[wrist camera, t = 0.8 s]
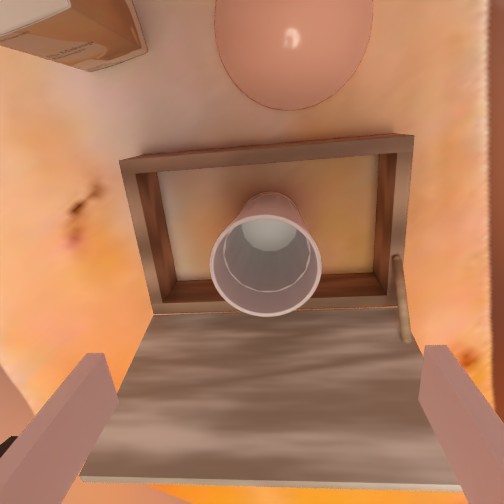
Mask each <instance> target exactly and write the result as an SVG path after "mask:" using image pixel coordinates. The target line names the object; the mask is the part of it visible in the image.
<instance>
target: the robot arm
mask: <svg viewBox="0 0 504 504" xmlns="http://www.w3.org/2000/svg"><path fill="white" fill-rule="evenodd" d="M418 400H419V402H420V404H421V406H422V408H423V410H424V413H425V415H426V417H427V419H428V421H429V423H430V425H431V427H432V429H433V431H434V433H435V435H436V437H437V439H438V441H439V443H440V445H441V447H442V449H443V451H444V453H445V455H446V457H447V459H448V461H449V463H450V465H451V467H452V470H453V472H454V474H455V476H456V478H457V480H458V482H459V484H460V486H461V488H462V490H463V492H464V494H465V496H466V498H467V500H468V502H469V504H504V423H503V422H502V421H501V419H500V418H499V416H498V415H497V414H496V412H495V411H494V410H493V408H492V407H491V406H490V404H489V403H488V401H487V400H486V399H485V397H484V396H483V395H482V393H481V392H480V391H479V389H478V388H477V387H476V385H475V384H474V382H473V381H472V380H471V378H470V377H469V376H468V374H467V373H466V372H465V370H464V369H463V367H462V366H461V365H460V363H459V362H458V361H457V359H456V358H455V357H454V355H453V354H452V352H451V351H450V350H449V348H448V347H447V346H446V345H426V346H425V350H424V358H423V366H422V374H421V382H420V390H419V398H418ZM118 403H119V399H118V396H117V393H116V390H115V387H114V384H113V381H112V377H111V374H110V371H109V368H108V365H107V362H106V359H105V355H104V353H87V354H86V355H85V357H84V358H83V359H82V360H81V361H80V363H79V364H78V365H77V366H76V367H75V369H74V370H73V371H72V372H71V373H70V375H69V376H68V377H67V378H66V379H65V381H64V382H63V383H62V384H61V385H60V387H59V388H58V389H57V390H56V392H55V393H54V394H53V395H52V396H51V398H50V399H49V400H48V401H47V402H46V404H45V405H44V406H43V407H42V408H41V410H40V411H39V412H38V413H37V414H36V416H35V417H34V418H33V419H32V421H31V422H30V423H29V424H28V426H27V427H26V428H25V429H24V430H23V431H22V433H21V434H20V435H19V436H11V437H10V438H9V439H7V440H6V441H5V442H4V443H2V444H1V445H0V504H61V503H62V501H63V499H64V498H65V496H66V494H67V492H68V490H69V489H70V487H71V485H72V483H73V482H74V480H75V478H76V477H77V475H78V473H79V471H80V470H81V468H82V466H83V464H84V463H85V461H86V459H87V457H88V456H89V454H90V452H91V450H92V449H93V447H94V445H95V443H96V442H97V440H98V438H99V436H100V435H101V433H102V431H103V429H104V428H105V426H106V424H107V422H108V421H109V419H110V417H111V415H112V414H113V412H114V410H115V408H116V407H117V405H118Z"/></svg>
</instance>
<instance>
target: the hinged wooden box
mask: <svg viewBox="0 0 504 504" xmlns="http://www.w3.org/2000/svg"><path fill="white" fill-rule="evenodd" d="M413 145H414V135H405V134H395V133H393V134H381V135H370V136H358V137H347V138H335V139H324V140H312V141H300V142H289V143H277V144H266V145H254V146H243V147H231V148H220V149H208V150H196V151H185V152H173V153H162V154H150V155H140V156H136V157H132V158H128V159H124V160H120V161H119V164H120V168H121V173H122V177H123V182H124V186H125V190H126V195H127V199H128V203H129V208H130V212H131V217H132V221H133V225H134V230H135V234H136V239H137V243H138V247H139V252H140V256H141V261H142V265H143V269H144V274H145V278H146V283H147V287H148V291H149V296H150V300H151V305H152V309H153V313H154V314H169V313H201V312H232V311H240V310H238V309H236V308H234V307H233V306H232V305H230V304H229V303H228V302H227V301H226V300H224V298H223V297H222V296H221V295H220V294H219V292H218V291H217V289H216V287H215V286H214V283H213V281H212V280H196V281H177V278H176V273H175V268H174V262H173V257H172V252H171V246H170V241H169V236H168V231H167V225H166V220H165V215H164V210H163V204H162V199H161V194H160V188H159V183H158V178H157V173H156V172H163V171H175V170H188V169H200V168H213V167H225V166H237V165H250V164H262V163H275V162H287V161H300V160H312V159H324V158H337V157H349V156H362V155H374V154H379V171H378V191H377V210H376V229H375V248H374V267H373V273H359V274H335V275H321V277H320V281H319V284H318V286H317V288H316V290H315V292H314V293H313V295H312V296H311V297H310V298H309V299H308V300H307V301H306V302H305V303H304V304H303V305H302V306H300V307H299V308H297V309H325V308H356V307H387V306H398V308H368V309H337V310H305V311H291V312H289V313H287V314H283V315H279V316H272V317H261V316H254V315H250V314H247V313H244V312H242V313H211V314H179V315H153V318H152V320H151V322H150V324H149V326H148V328H147V330H146V333H145V335H144V337H143V339H142V341H141V343H140V346H139V348H138V350H137V352H136V354H135V356H134V358H133V361H132V363H131V365H130V367H129V369H128V371H127V373H126V376H125V378H124V380H123V382H122V384H121V386H120V389H119V391H118V393H117V396H118V399H119V403H118V405H117V407H116V408H115V410H114V412H113V414H112V415H111V417H110V419H109V421H108V422H107V424H106V426H105V428H104V429H103V431H102V433H101V435H100V436H99V438H98V440H97V442H96V443H95V445H94V447H93V449H92V450H91V452H90V454H89V456H88V457H87V459H86V462H85V464H84V466H83V468H82V470H81V472H80V475H79V477H80V478H81V480H82V481H83V482H101V483H139V484H178V485H217V486H256V487H295V488H334V489H373V490H412V491H451V492H463V490H462V488H461V486H460V484H459V482H458V480H457V478H456V476H455V474H454V472H453V470H452V467H451V465H450V463H449V461H448V459H447V457H446V455H445V453H444V451H443V449H442V447H441V445H440V443H439V441H438V439H437V437H436V435H435V433H434V431H433V429H432V427H431V425H430V423H429V421H428V419H427V417H426V415H425V413H424V410H423V408H422V406H421V404H420V402H419V400H418V398H419V390H420V382H421V374H422V366H423V356H422V353H421V351H420V349H419V347H418V345H417V343H416V341H415V339H414V337H413V335H412V332H411V328H410V320H409V312H408V304H407V296H406V288H405V279H404V271H403V259H404V248H405V236H406V225H407V214H408V202H409V191H410V179H411V168H412V157H413Z"/></svg>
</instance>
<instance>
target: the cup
mask: <svg viewBox="0 0 504 504" xmlns="http://www.w3.org/2000/svg"><path fill="white" fill-rule="evenodd" d="M321 272H322V261H321V256H320V252H319V249H318V247H317V245H316V243H315V241H314V239H313V238H312V236H311V234H310V233H309V231H308V229H307V227H306V225H305V223H304V222H303V220H302V218H301V216H300V214H299V211H298V208H297V206H296V205H295V203H294V202H293V201H292V200H291V199H290V198H289V197H287V196H286V195H284V194H281V193H278V192H273V191H267V192H262V193H259V194H256V195H255V196H253V197H252V198H250V199H249V200H248V201H247V202H246V204H245V205H244V207H243V209H242V211H241V212H240V213H239V214H238V216H237V217H236V218H235V219H234V220H233V221H232V222H231V223H230V224H229V225H228V226H227V228H226V229H225V230H224V231H223V232H222V233H221V234H220V236H219V237H218V238H217V240H216V242H215V244H214V246H213V248H212V251H211V255H210V274H211V278H212V281H213V283H214V286H215V287H216V289H217V291H218V292H219V294H220V295H221V296H222V297H223V298H224V300H226V301H227V302H228V303H229V304H230V305H232V306H233V307H234V308H236V309H238V310H240V311H242V312H244V313H247V314H250V315H254V316H261V317H272V316H279V315H283V314H287V313H289V312H291V311H294V310H295V309H297V308H299V307H300V306H302V305H303V304H304V303H305V302H306V301H307V300H308V299H309V298H310V297H311V296H312V295H313V293H314V292H315V290H316V288H317V286H318V284H319V281H320V277H321Z"/></svg>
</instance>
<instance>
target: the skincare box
mask: <svg viewBox="0 0 504 504" xmlns="http://www.w3.org/2000/svg"><path fill="white" fill-rule="evenodd" d="M0 45H1V46H5V47H8V48H11V49H15V50H18V51H22V52H25V53H28V54H31V55H35V56H38V57H42V58H45V59H48V60H52V61H55V62H58V63H62V64H65V65H68V66H72V67H75V68H78V69H82V70H85V71H88V72H92V71H95V70H99V69H102V68H105V67H109V66H112V65H115V64H118V63H121V62H123V61H126V60H129V59H131V58H134V57H136V56H139V55H141V54H144V53H146V52H147V51H148V50H147V47H146V43H145V40H144V37H143V34H142V30H141V27H140V24H139V21H138V18H137V15H136V12H135V9H134V6H133V3H132V1H131V0H0Z"/></svg>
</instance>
